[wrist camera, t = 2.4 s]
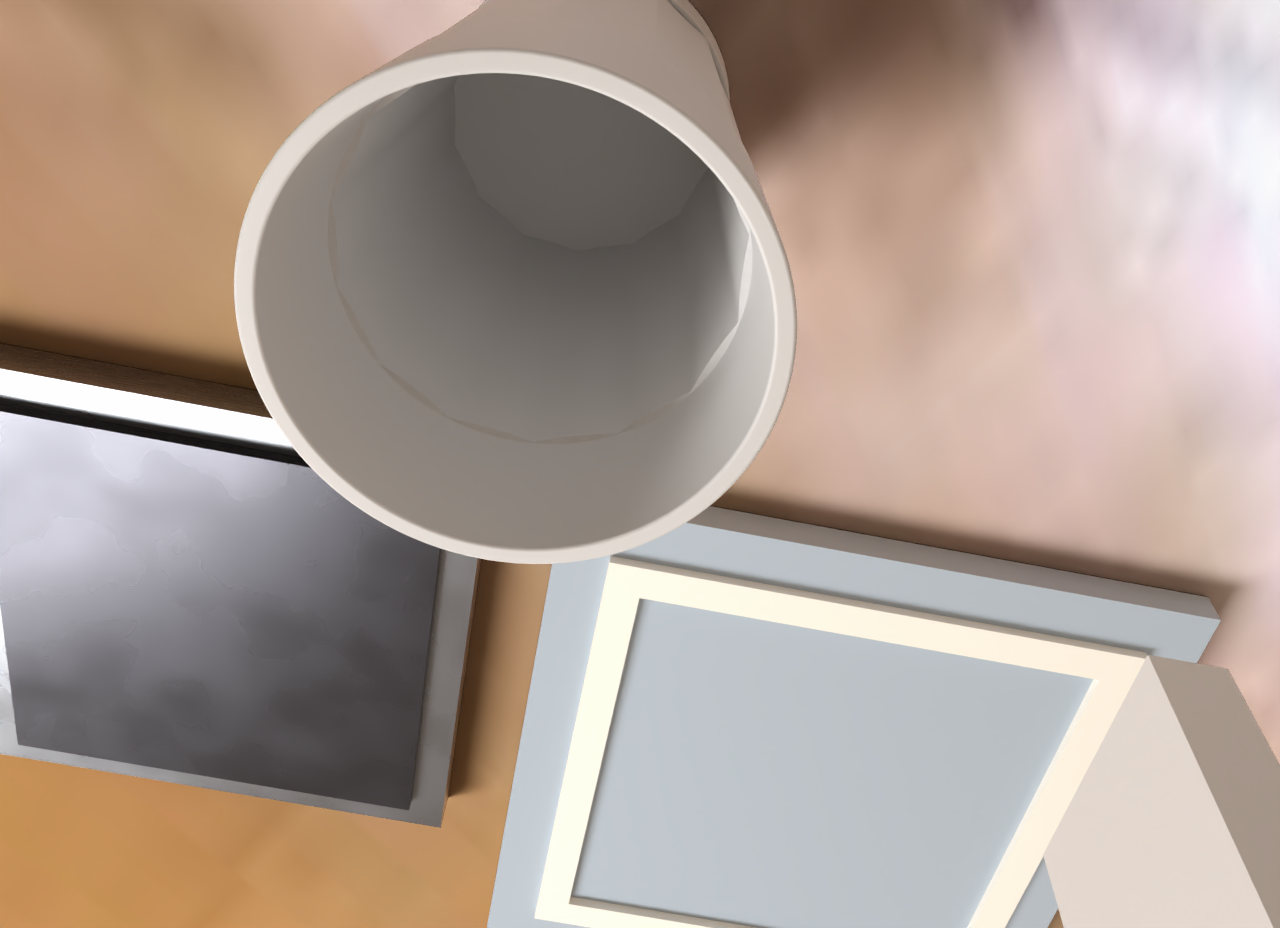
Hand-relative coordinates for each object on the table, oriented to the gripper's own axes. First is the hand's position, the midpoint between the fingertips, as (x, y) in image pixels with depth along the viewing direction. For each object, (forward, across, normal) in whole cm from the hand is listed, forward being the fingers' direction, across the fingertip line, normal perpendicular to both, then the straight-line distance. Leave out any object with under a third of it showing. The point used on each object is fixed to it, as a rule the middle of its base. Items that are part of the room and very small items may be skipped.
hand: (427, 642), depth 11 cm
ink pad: (+19, -8, -16) cm, 26 cm away
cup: (+19, 0, 0) cm, 19 cm away
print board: (+19, +10, -19) cm, 29 cm away
